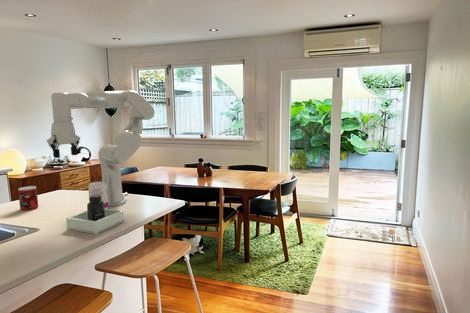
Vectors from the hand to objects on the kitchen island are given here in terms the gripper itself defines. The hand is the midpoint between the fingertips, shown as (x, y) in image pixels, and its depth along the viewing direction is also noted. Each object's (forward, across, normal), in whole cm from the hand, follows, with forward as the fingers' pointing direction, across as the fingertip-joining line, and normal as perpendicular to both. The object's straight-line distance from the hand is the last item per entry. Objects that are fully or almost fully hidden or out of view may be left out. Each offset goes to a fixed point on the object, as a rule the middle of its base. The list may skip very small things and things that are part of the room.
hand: (65, 156), depth 152 cm
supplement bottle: (+28, +8, +24) cm, 37 cm away
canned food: (+28, 0, -29) cm, 41 cm away
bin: (+28, +8, +24) cm, 38 cm away
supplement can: (+28, -6, +12) cm, 32 cm away
